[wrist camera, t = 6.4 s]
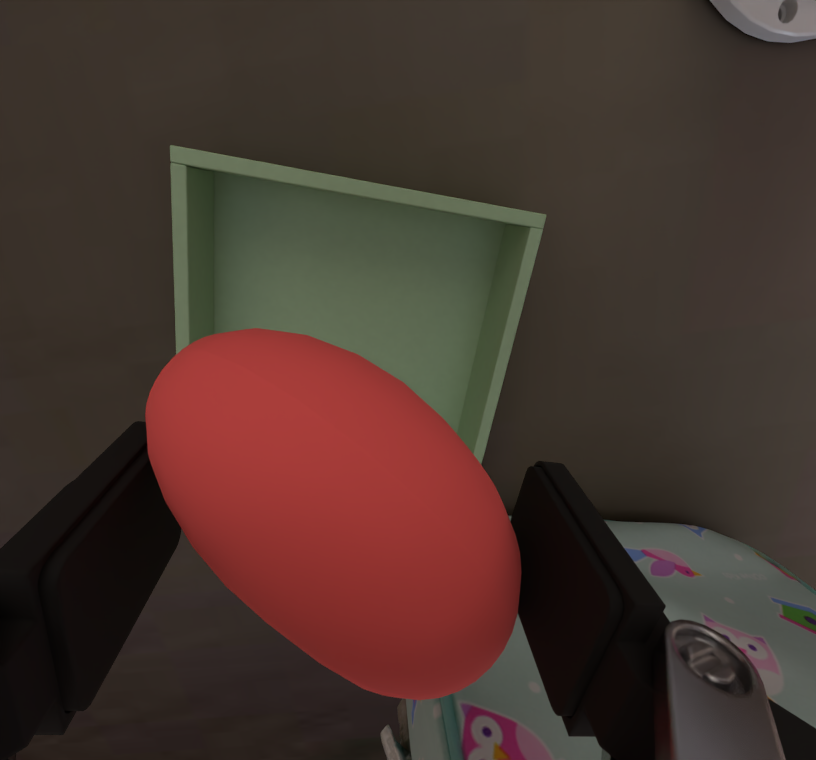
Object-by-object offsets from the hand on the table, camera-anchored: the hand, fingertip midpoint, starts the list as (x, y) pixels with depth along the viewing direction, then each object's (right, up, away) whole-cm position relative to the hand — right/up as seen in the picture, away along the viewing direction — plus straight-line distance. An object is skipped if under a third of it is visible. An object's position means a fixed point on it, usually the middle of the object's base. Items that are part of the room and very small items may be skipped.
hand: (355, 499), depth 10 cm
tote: (-2, +5, +14) cm, 15 cm away
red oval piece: (0, +1, +1) cm, 1 cm away
